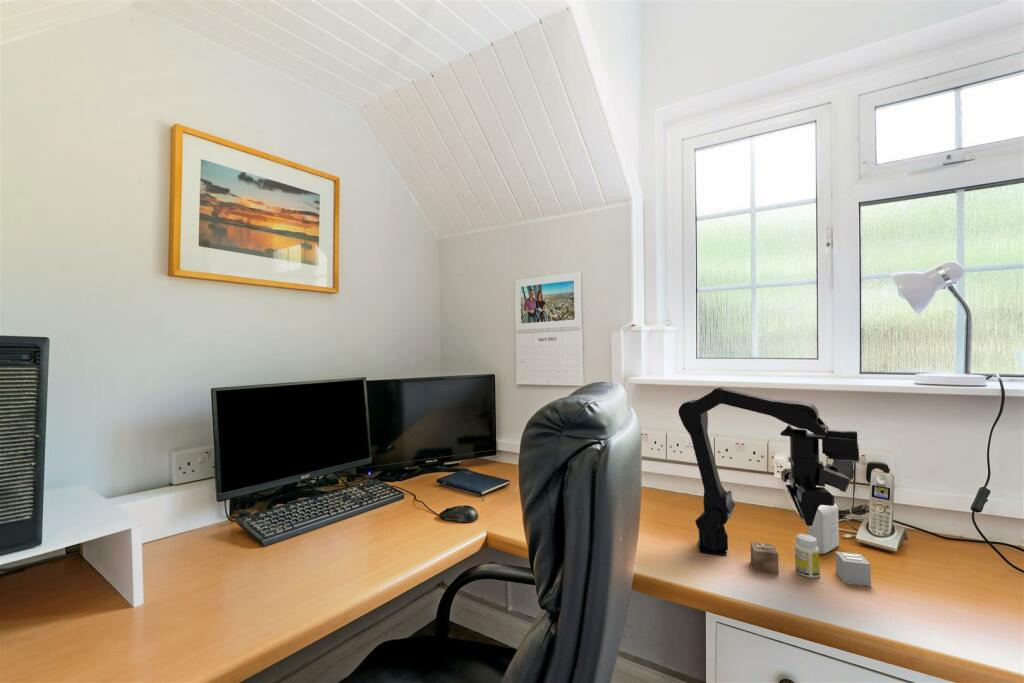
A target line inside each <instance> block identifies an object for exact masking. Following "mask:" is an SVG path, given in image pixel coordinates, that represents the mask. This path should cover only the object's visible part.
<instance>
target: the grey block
mask: <svg viewBox="0 0 1024 683" xmlns="http://www.w3.org/2000/svg"><path fill="white" fill-rule="evenodd" d="M871 568H872V567H871V563H870V562H869V561H868V560H867V559H866V558H865V556H863V554H861V553H854V552H845V551H835V573H836V574H837V576H838V577H839V578H840V579H841V581H842V580H843V581H842V582H843V584H847V583H850V584H849V585H855V584H858V585H857V586H863V585H867V586H866V587H872V580H871V579H872V573H871V572H872V570H871Z"/></svg>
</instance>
